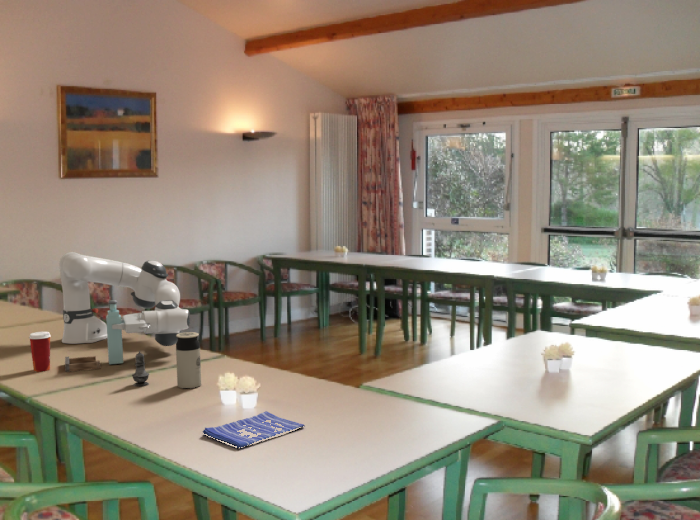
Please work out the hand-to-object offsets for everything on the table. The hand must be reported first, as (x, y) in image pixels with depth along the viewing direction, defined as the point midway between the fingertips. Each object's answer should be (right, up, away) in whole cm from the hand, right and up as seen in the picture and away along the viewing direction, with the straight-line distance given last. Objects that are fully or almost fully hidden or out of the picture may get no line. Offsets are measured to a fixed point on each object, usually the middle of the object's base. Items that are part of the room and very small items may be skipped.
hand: (111, 325), depth 288 cm
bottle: (+1, -14, +2) cm, 15 cm away
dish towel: (+65, -24, -78) cm, 104 cm away
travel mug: (+37, -18, -31) cm, 51 cm away
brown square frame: (-10, -16, -2) cm, 19 cm away
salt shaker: (+19, -18, -28) cm, 39 cm away
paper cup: (-24, -16, -7) cm, 30 cm away
